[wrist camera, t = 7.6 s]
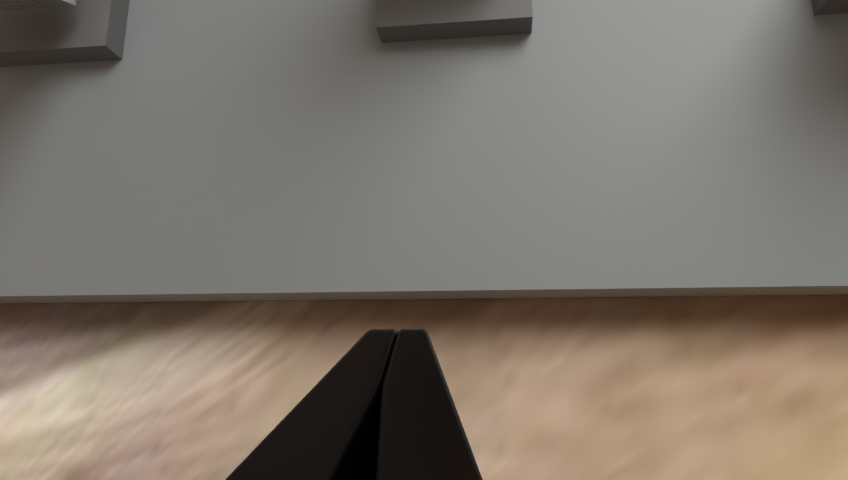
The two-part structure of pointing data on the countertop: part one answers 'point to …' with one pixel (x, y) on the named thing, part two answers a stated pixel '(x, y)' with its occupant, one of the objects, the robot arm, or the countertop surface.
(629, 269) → the switch panel
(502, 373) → the countertop surface
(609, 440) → the countertop surface
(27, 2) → the cream lever
